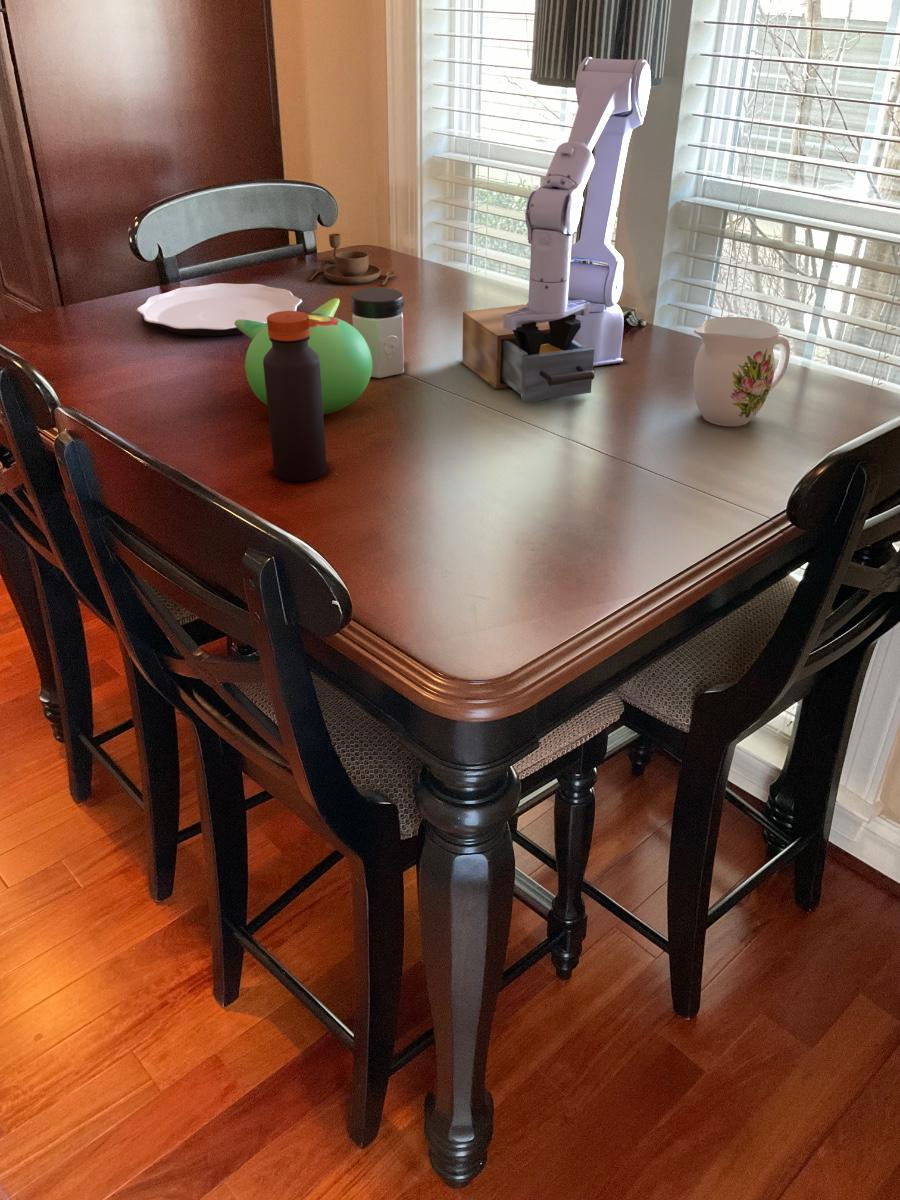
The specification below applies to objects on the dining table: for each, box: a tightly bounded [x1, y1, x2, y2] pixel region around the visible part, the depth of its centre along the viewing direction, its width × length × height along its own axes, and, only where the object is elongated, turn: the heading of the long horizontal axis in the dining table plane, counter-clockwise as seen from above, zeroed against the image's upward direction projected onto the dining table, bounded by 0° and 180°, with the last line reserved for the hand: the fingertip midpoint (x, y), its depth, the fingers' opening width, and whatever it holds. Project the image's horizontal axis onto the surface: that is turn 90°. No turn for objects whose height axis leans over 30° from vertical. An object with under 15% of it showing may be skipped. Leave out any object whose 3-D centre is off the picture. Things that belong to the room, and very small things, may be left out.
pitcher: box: [692, 316, 791, 427], centre depth 139 cm, size 11×18×14 cm, turn 117°
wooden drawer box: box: [461, 303, 550, 390], centre depth 156 cm, size 13×12×8 cm
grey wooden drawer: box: [500, 333, 595, 403], centre depth 147 cm, size 16×11×7 cm
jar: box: [350, 287, 405, 379], centre depth 155 cm, size 9×8×12 cm
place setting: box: [308, 233, 395, 286], centre depth 208 cm, size 18×20×6 cm
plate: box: [136, 282, 303, 337], centre depth 182 cm, size 29×29×2 cm
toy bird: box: [234, 297, 372, 416], centre depth 140 cm, size 18×17×15 cm
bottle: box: [263, 310, 328, 483], centre depth 120 cm, size 7×7×20 cm
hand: (544, 369), depth 148 cm, fingers closed on block, 4 cm apart
